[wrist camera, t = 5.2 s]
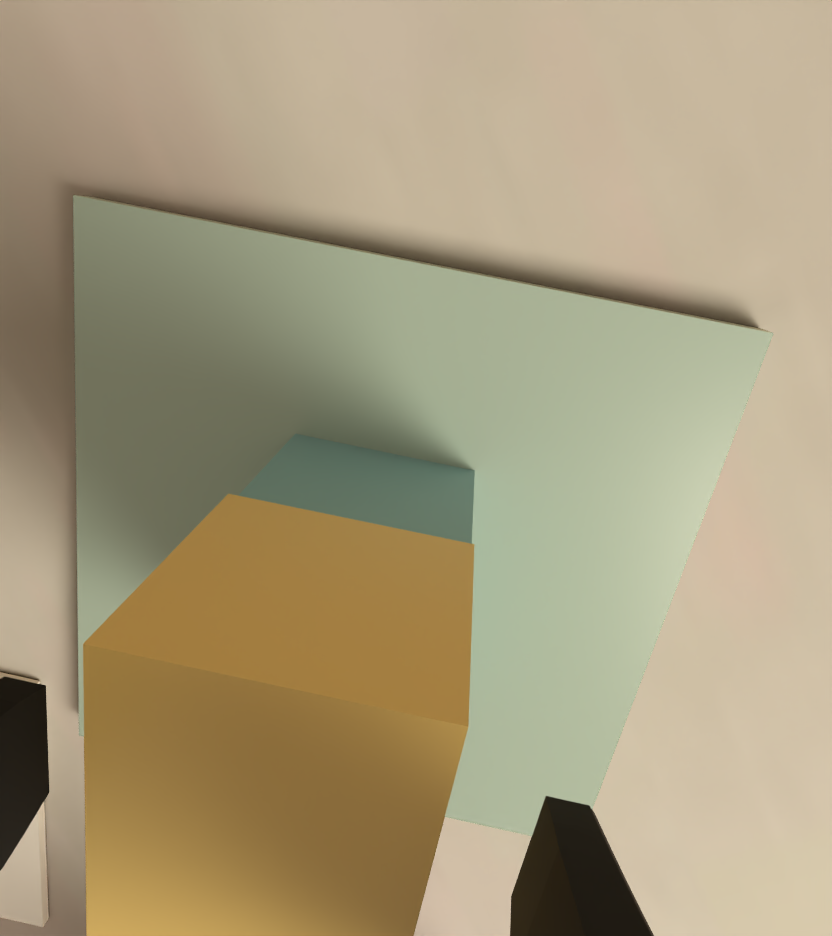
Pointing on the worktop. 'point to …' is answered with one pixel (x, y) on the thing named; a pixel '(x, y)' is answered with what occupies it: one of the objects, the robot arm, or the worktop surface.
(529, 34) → the worktop surface
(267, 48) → the worktop surface
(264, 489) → the brick teal
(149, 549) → the baseplate
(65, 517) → the worktop surface
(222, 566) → the brick ochre
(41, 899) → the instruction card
